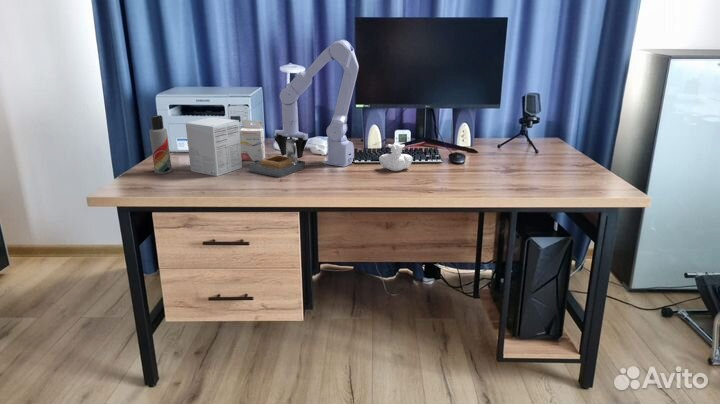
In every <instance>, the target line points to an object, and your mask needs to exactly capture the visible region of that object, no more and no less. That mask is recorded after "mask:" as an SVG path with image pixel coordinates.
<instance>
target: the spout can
mask: <svg viewBox="0 0 720 404" xmlns="http://www.w3.org/2000/svg"><path fill="white" fill-rule="evenodd" d="M294 140H296V138H291V136H290V137H288V138H287V140H286V155H285V157H290V158H293V160H298V158H297V149H296V145H295V142H294Z"/></svg>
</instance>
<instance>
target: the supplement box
mask: <svg viewBox="0 0 720 404" xmlns="http://www.w3.org/2000/svg"><path fill="white" fill-rule="evenodd" d="M185 128H186V129H185V130H186V139H187V140H186V141H187V146H188V157H189V166H190V167H189V168H190V169H189V170H190V171H191V172H193V173H198V174H203V175H209V176H213V177H214V176H215V177H219V176H222V175H225V174H228V173H231V172H234V171H237V170H240V169H243V160H242V158H241V145H240V131H239V130H240V120H238V119H229V118H220V117H214V116H212V117H206V118H200V119H197V120H192V121H188V122H185Z"/></svg>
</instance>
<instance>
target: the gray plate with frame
mask: <svg viewBox="0 0 720 404" xmlns="http://www.w3.org/2000/svg"><path fill="white" fill-rule="evenodd" d="M248 165H249V167H248V168H249V172H251V173H254V174H260V175H265V176H271V177H276V178H283V177H286V176H288V175H290V174H293V173H296V172H299V171H301V170H304V169H306V161H305V160H304V161H303V160H299V159H297V160H293V158H290V157H287V156H284V155H283V156H282V155H276V154H275V155H273V156H270V157H265V158H264V159H263V160H261V161H259V160H256V161H254V163H251V164H248Z"/></svg>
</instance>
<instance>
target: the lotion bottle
mask: <svg viewBox="0 0 720 404" xmlns="http://www.w3.org/2000/svg"><path fill="white" fill-rule="evenodd" d="M163 120H164V119H163V116H162V115H161V114H159V115H154V116H151V117H150V123H151V124H150V125H151V129H149V139H150V145H151V152H152V154H151V156H152V161H153V169H154V173H155V174H158V175H161V174H162V175H163V174H169V173H171V172H172V163H171V162H172V161H171V154H170V153H171V152H170V145H169V136H168V130H167V128H165V126H164V121H163Z"/></svg>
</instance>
